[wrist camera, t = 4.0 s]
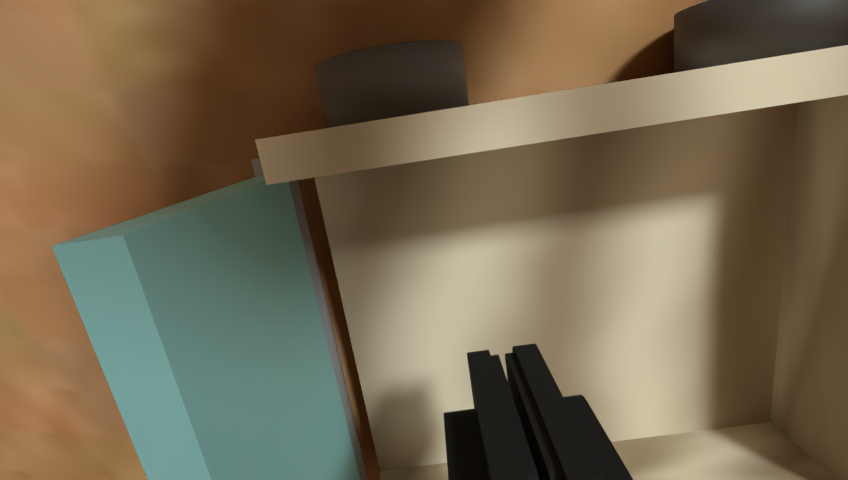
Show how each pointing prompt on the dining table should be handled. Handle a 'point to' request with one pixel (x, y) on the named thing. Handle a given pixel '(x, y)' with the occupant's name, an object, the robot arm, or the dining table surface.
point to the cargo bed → (603, 242)
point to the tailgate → (219, 337)
